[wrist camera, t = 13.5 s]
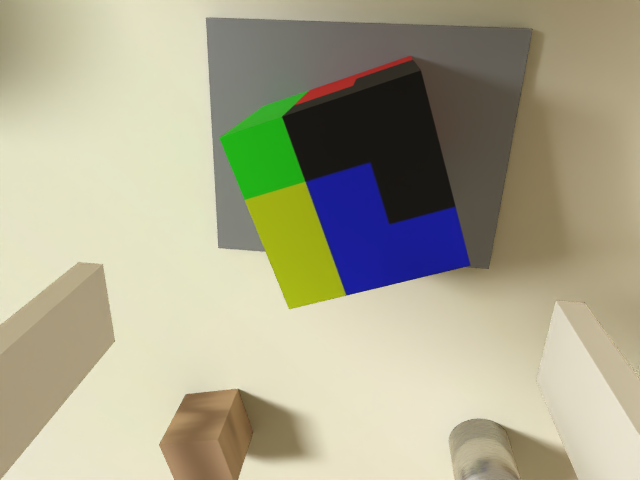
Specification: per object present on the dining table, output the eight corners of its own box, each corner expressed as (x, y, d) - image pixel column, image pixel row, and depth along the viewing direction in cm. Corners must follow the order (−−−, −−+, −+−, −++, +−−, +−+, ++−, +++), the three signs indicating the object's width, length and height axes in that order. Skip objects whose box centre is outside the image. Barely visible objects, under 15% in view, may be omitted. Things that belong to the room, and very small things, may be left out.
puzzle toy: (448, 201, 35) (470, 265, 26) (312, 238, 37) (289, 309, 28) (410, 55, 32) (421, 70, 23) (263, 106, 34) (219, 137, 25)
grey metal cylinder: (445, 459, 45) (455, 531, 39) (452, 415, 43) (465, 484, 37) (502, 465, 45) (522, 540, 38) (513, 422, 43) (535, 492, 36)
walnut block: (202, 436, 48) (179, 490, 42) (186, 393, 46) (159, 444, 40) (253, 431, 47) (235, 486, 41) (238, 388, 45) (217, 439, 39)
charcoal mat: (221, 243, 39) (218, 247, 39) (209, 17, 33) (206, 17, 32) (486, 263, 37) (488, 268, 37) (529, 28, 31) (532, 28, 30)
